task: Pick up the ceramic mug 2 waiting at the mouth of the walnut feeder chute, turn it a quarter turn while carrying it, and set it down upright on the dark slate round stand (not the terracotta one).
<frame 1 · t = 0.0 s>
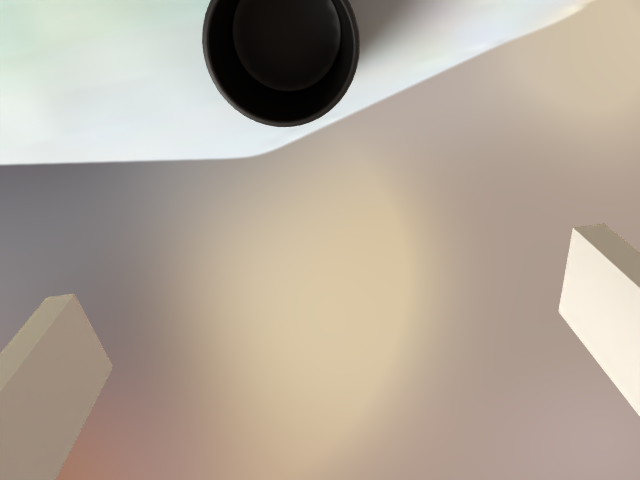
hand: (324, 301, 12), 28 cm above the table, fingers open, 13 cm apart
mug: (297, 20, 34), on the table
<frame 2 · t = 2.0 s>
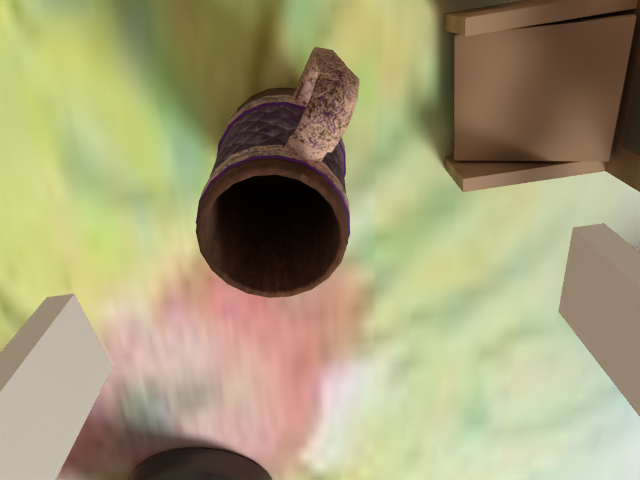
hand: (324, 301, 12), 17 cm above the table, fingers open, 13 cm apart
feeder: (513, 87, 26), on the table
mug 2: (295, 121, 27), on the table
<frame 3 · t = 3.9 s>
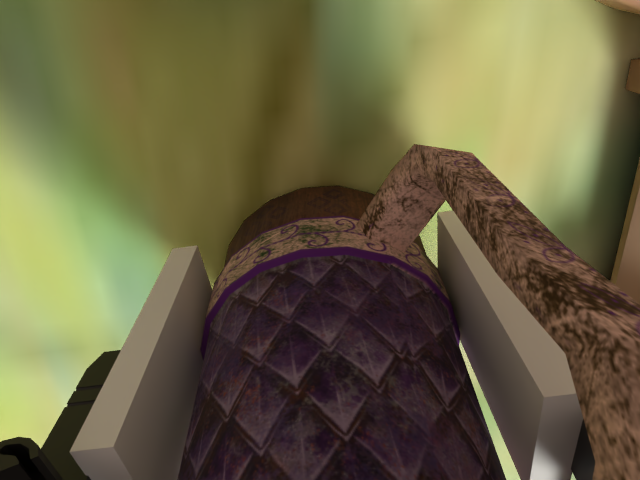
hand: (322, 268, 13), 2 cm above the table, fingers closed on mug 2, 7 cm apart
mug 2: (346, 235, 15), on the table, touching gripper
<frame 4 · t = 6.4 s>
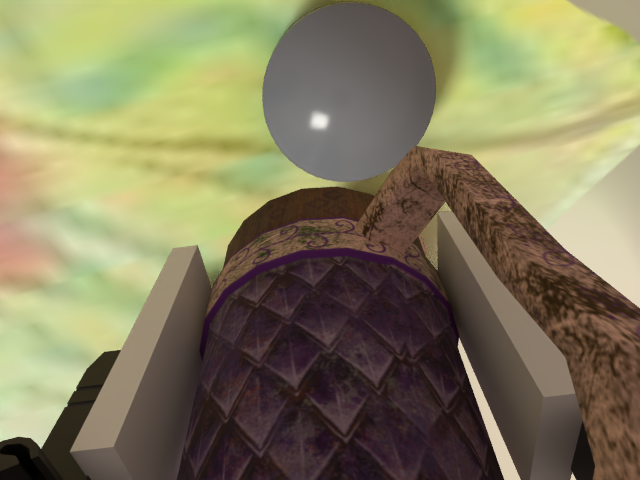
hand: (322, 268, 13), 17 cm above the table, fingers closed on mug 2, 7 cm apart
stand slate: (346, 93, 27), on the table
mug 2: (345, 236, 15), point 15 cm above the table, touching gripper
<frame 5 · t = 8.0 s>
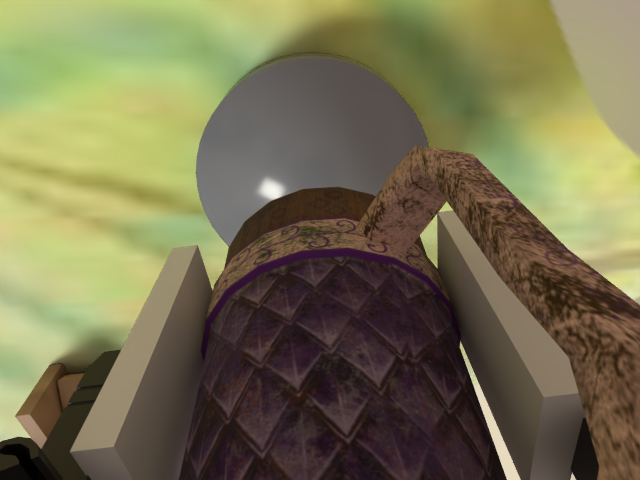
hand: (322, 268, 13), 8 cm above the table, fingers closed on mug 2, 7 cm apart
stand slate: (313, 167, 21), on the table
feeder: (144, 400, 28), on the table
mug 2: (346, 236, 15), point 7 cm above the table, touching gripper
when the fingers open (5 cm above the table, at t = 9.0 s): mug 2 drops 1 cm, resting on stand slate.
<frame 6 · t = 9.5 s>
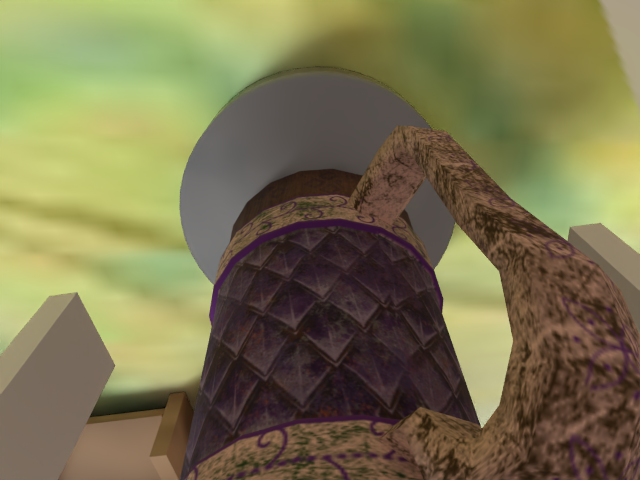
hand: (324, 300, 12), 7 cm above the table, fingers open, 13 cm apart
stand slate: (318, 198, 18), on the table
feeder: (129, 448, 25), on the table
mug 2: (340, 215, 16), point 2 cm above the table, touching stand slate
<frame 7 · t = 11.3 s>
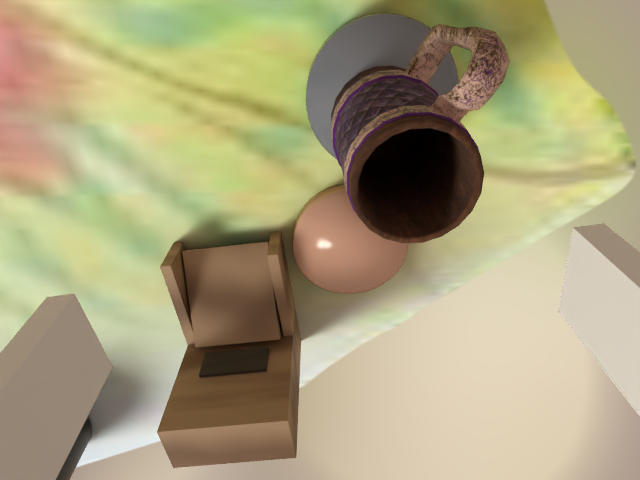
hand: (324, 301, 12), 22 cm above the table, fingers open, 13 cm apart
stand slate: (378, 93, 31), on the table
feeder: (236, 277, 38), on the table
mug 2: (393, 97, 29), point 2 cm above the table, touching stand slate
mug: (54, 413, 47), on the table
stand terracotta: (348, 234, 36), on the table
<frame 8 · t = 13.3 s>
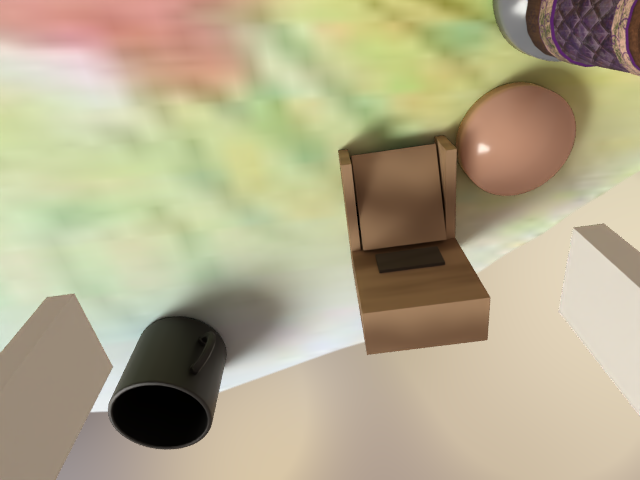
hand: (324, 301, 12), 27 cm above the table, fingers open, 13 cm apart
feeder: (393, 186, 39), on the table
mug: (190, 340, 48), on the table
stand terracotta: (508, 137, 37), on the table
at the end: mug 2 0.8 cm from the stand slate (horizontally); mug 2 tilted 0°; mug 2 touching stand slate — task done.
